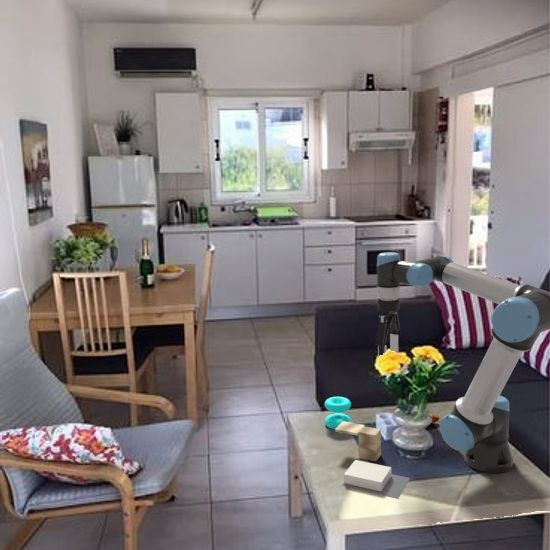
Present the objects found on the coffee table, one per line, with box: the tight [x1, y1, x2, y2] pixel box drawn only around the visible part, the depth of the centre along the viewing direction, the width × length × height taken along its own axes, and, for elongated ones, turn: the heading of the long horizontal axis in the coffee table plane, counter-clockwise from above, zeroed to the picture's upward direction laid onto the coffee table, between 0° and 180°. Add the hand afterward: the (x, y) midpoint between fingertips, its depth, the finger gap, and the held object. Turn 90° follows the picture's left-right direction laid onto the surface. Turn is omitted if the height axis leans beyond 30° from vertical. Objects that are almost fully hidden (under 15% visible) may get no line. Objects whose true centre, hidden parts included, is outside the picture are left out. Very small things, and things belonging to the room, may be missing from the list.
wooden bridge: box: [334, 421, 382, 462], centre depth 207 cm, size 14×7×10 cm, turn 62°
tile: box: [343, 459, 392, 491], centre depth 191 cm, size 3×10×12 cm
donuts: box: [324, 396, 352, 430], centre depth 233 cm, size 10×10×10 cm
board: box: [340, 473, 411, 500], centre depth 190 cm, size 18×13×1 cm
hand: (388, 358), depth 212 cm, fingers open, 13 cm apart
